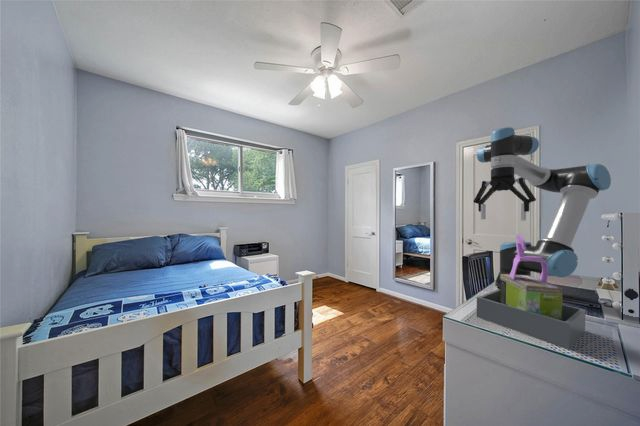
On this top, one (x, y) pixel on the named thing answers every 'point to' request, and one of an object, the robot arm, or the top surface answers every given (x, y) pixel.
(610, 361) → the top surface
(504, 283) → the tea box
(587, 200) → the robot arm
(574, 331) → the crate
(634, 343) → the top surface
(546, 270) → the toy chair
